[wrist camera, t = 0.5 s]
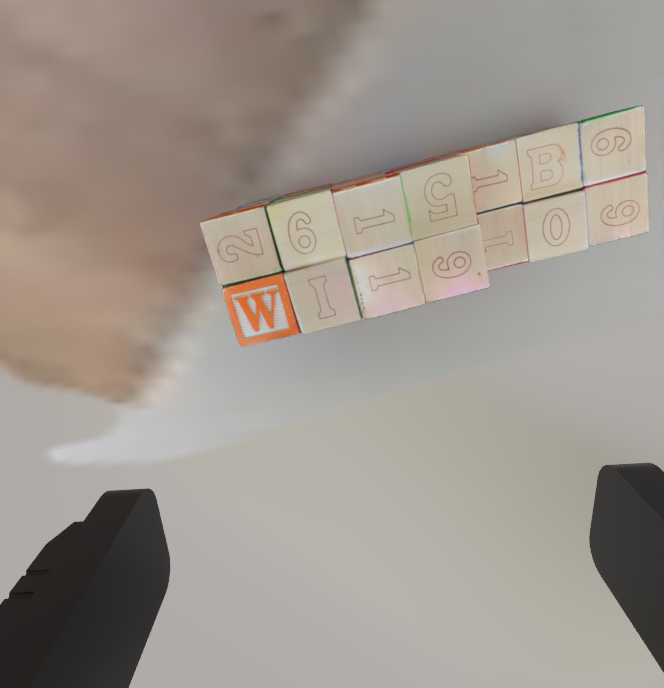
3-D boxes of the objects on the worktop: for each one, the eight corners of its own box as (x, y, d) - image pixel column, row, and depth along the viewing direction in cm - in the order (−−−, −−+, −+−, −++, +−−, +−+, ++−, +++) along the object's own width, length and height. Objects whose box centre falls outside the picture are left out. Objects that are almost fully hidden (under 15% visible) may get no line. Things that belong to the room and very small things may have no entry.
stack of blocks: (560, 122, 31) (694, 93, 20) (568, 219, 33) (694, 244, 22) (243, 204, 33) (194, 221, 21) (269, 291, 35) (237, 351, 23)
